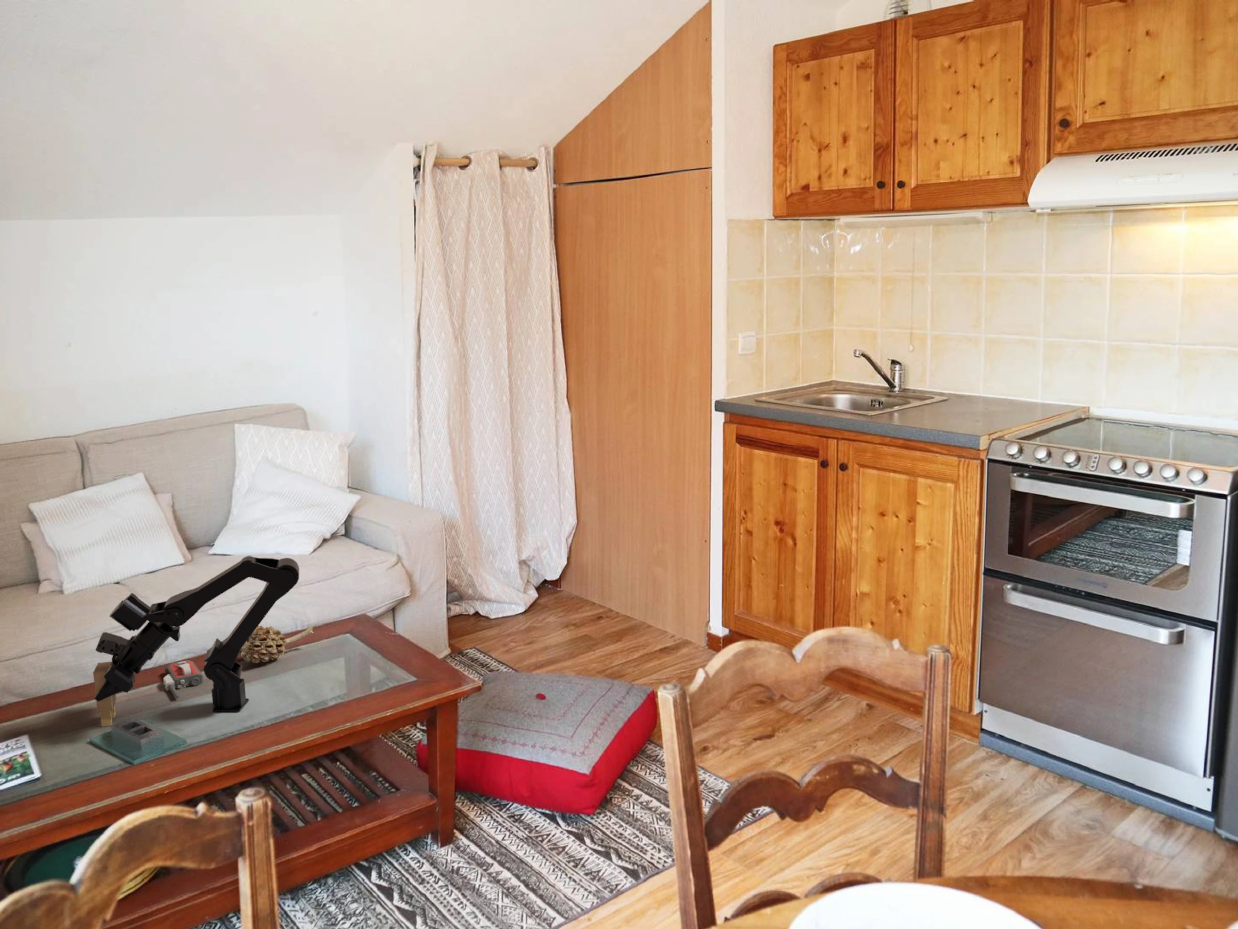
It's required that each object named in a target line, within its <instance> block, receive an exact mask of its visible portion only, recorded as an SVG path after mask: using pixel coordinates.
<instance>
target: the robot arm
mask: <svg viewBox="0 0 1238 929" xmlns="http://www.w3.org/2000/svg"><path fill="white" fill-rule="evenodd" d="M248 578H251V579H255V580H259V581H261V582H263V583H264V582H265V585H264V587H263V589H262V590H261V592H260V593H259V595H258V596H257V597H256V599H255V600H254V601H253V603H252V604H251V605H250V607H249V608H248V609H247V610H246V612H245V614H244V615H242V617H241V619H240V620H239V621H238V623H237V624H236V626H235V627H234V628H233V630H232V631H231V632H230V633H229V635H227V637H226V638H225V639H223V640H222V641H221V640H220V639H219V638H216V639H215V641H214V643H213V645H212V646H211V647H210V648H209V649H208V650H206V653H205V657H204V666H203V674H204V675H205V677H206V678H207V679H208V680H209V681H212V685H213V686H212V687H213V688H211V700H212V706H213V707H212V709H211V712H213V713H214V712H222V713H223V712H232V713H233V712H240V711H241V710H242V709H244V707H245V706H246V705H247V703H248V702H249V701H250V699H249V698H247V696H246V695H247V694H246V682H245V678H242V677H241V676H242V672H243V671H242V670H243V665H242V664H241V663H239V662H238V661H236V660H237V659H238V654H239V652H240V650H241V648H242V647H243V645H244V644H245V643H246V641H247V640H248V639H249V637H250V636H251V635H252V633H253V632H254V631H255V629H256V628H257V627H258V626H260V624H261V623H262V621H263V620H264V619H265V618H266V616H267V615H268V613H269V612H270V611H271V609H272V608H273V606H274V605H275V604H276V602H278V600H280V599H281V598H283V597H284V596H285V595H286V594H288V593H289V592H290V591H291V590H292V589H293V588H294V587H295V586H297V584H298V582H299V579H300V566H299V563H298V562H297V561H296V560H294V559H293V558H289V557H284V558H280V559H278V558H273V557H271V558H269V557H255V556H251V555H248V556H244V557H243V558H242V559H241V560H239V561H238V562H236V563H235V564H233V565H232V566H229V567H228V568H227V569H225V570H224V571H222V572H220V573H218V574H217V575H215V576H213V577H211V579H209V580H207V581H206V582H204V583H202V584H201V585H199V586H197V587H195V588H191V589H188V590H184V591H182V592H179V593H178V594H177V593H176V594H175V595H172V596H170V597H169V598H168V599H167V600H165V601H161V602H156V603H152V604H151V605H150V606H149V605H148V604H147V603H145V602H144V601H143V600H141V599H140V598H139V597H138V596H137V595H136V594H135V593H133V592H131V593H130V594H129V595H128V596H127V597H126V598H124V599H123V600H121V601H120V602H119V603H118V604H117V605H116V606H115V608H114V609H113V610H112V612H111V613H110V614H109V617H110V618H111V619H113V621H116V622H117V623H118V624H119V625H120V626H122V627H124V628H125V629H126V630H127V631H128V632H131V631H133V632H135V631H138V630H139V632H138V633H137V634H135V635H132V636H131V637H130V638H129V639H127V638H125V637H122V636H121V635H117V634H113V633H109V632H107V631H106V632H105V631H103V632H102V633H101V635H100V638H99V640H98V642H97V645H96V648H95V651H96V652H97V653H100V654H103V653H104V654H107V655H110V656H111V662H112V663H113V665H111V666H110V667H109V668H108V670H106V672H105V674H104V678H105V679H106V681H105V683H104V684H103V686H102V688H101V689H100V691H99V692H98V694H97V695H96V694H95V697H94V700H95V701H96V700H97V701H101V700H103V699H105V698H107V697H110V696H112V695H114V694H116V695H117V694H119V693H121V692H124V693H127V694H128V692H129V691H130V690H132V688H133V687H134V685H135V682H136V675H138V674H139V673H140V672H141V670H142V667H144V666H145V664H147V662H148V661H151V660H152V659H153V658H154V656H155V654H156V653H157V651H158V650H160V648H161V647H162V646H163V645H164V644H165V643H166V642H167V641H168V640H169V638H171V639H172V640H174V641H175V642H179V641H180V638H181V632H180V630H181V626H183V625H185V624H186V623H187V622H188V621H189V620H190V619H192V617H194V616H195V615H196V614H197V613H198V612H199V611H200V610H201V609H202V608H203V607H204V606H205V605H207V603H210V602H211V601H213V600H214V599H216V598H217V597H219V596H221V595H223V594H224V593H226V592H227V591H229V590H230V589H232V588H233V587H235V586H237V585H238V584H240V583H241V582H243V581H245V580H246V579H248ZM147 621H148V622H147ZM146 622H147V623H146ZM145 624H146V625H145ZM142 627H143V628H142ZM135 674H136V675H135Z"/></svg>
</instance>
